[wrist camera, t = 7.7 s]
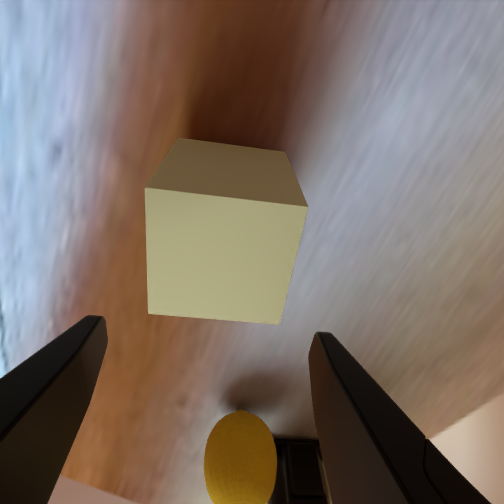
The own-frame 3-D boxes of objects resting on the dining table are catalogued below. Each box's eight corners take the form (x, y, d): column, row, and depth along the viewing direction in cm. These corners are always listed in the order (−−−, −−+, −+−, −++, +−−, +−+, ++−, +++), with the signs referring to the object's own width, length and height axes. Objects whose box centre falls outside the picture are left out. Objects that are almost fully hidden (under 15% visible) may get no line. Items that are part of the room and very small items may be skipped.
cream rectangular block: (267, 242, 19) (279, 324, 14) (175, 232, 19) (148, 313, 13) (285, 151, 17) (308, 207, 11) (178, 137, 16) (144, 187, 10)
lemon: (195, 408, 29) (181, 521, 22) (245, 381, 27) (247, 493, 20) (236, 436, 31) (234, 545, 24) (285, 412, 30) (298, 523, 23)
